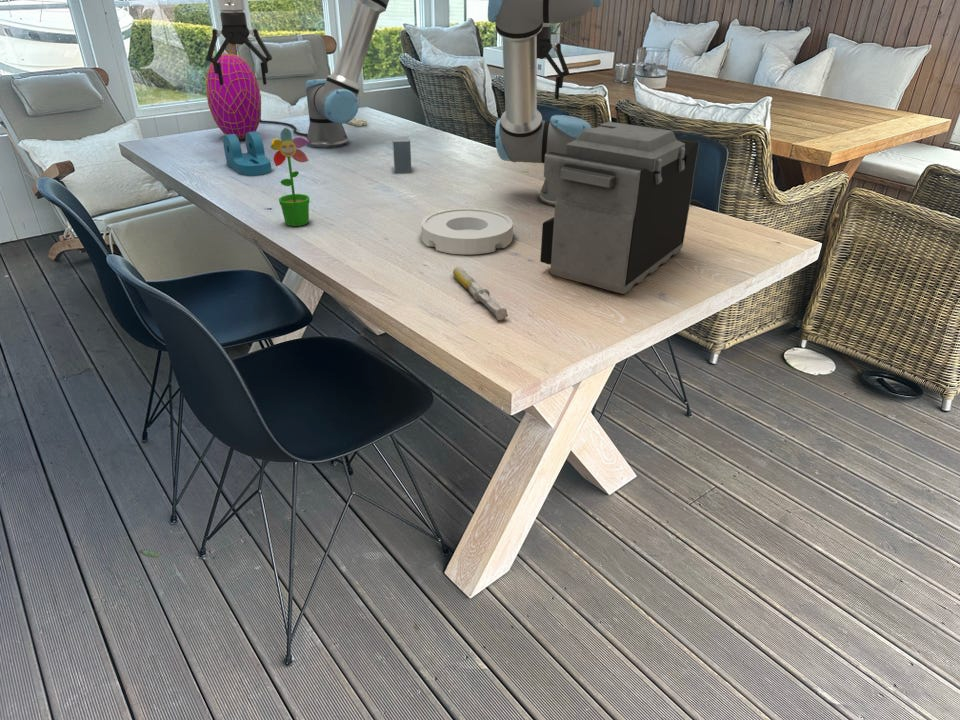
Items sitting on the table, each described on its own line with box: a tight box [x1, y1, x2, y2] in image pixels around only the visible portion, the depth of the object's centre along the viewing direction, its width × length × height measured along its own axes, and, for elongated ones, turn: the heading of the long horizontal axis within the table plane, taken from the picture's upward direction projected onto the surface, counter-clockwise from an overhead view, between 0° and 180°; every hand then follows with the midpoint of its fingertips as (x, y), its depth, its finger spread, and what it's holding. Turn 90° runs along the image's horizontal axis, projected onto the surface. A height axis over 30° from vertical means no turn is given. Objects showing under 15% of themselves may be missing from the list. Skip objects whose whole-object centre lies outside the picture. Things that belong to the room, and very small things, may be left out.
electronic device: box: [539, 121, 701, 295], centre depth 154 cm, size 37×22×30 cm, turn 144°
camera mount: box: [222, 130, 272, 176], centre depth 226 cm, size 18×10×10 cm, turn 35°
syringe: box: [452, 266, 509, 321], centre depth 145 cm, size 25×4×3 cm, turn 21°
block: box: [391, 136, 412, 174], centre depth 227 cm, size 7×6×10 cm
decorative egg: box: [205, 53, 262, 141], centre depth 258 cm, size 19×19×30 cm
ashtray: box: [420, 207, 514, 256], centre depth 174 cm, size 23×23×4 cm
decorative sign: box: [346, 117, 368, 127], centre depth 295 cm, size 26×1×10 cm
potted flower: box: [270, 127, 310, 227], centre depth 177 cm, size 9×8×25 cm
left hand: (243, 84), depth 224 cm, fingers open, 13 cm apart
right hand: (535, 99), depth 220 cm, fingers open, 13 cm apart
